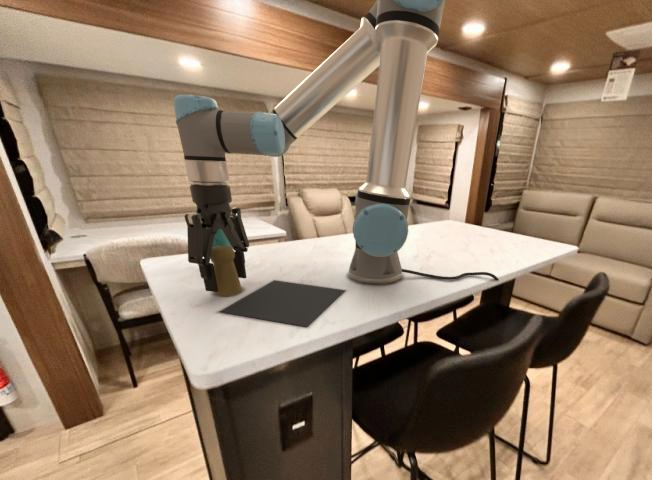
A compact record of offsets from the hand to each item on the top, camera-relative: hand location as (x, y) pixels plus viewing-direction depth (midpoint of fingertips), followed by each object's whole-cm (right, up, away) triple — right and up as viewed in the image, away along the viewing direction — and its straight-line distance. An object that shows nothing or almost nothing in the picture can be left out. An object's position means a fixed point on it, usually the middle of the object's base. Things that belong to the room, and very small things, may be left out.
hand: (227, 283), depth 74 cm
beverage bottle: (-11, +6, +18) cm, 22 cm away
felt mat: (+15, -4, -3) cm, 16 cm away
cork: (0, -2, +1) cm, 2 cm away
